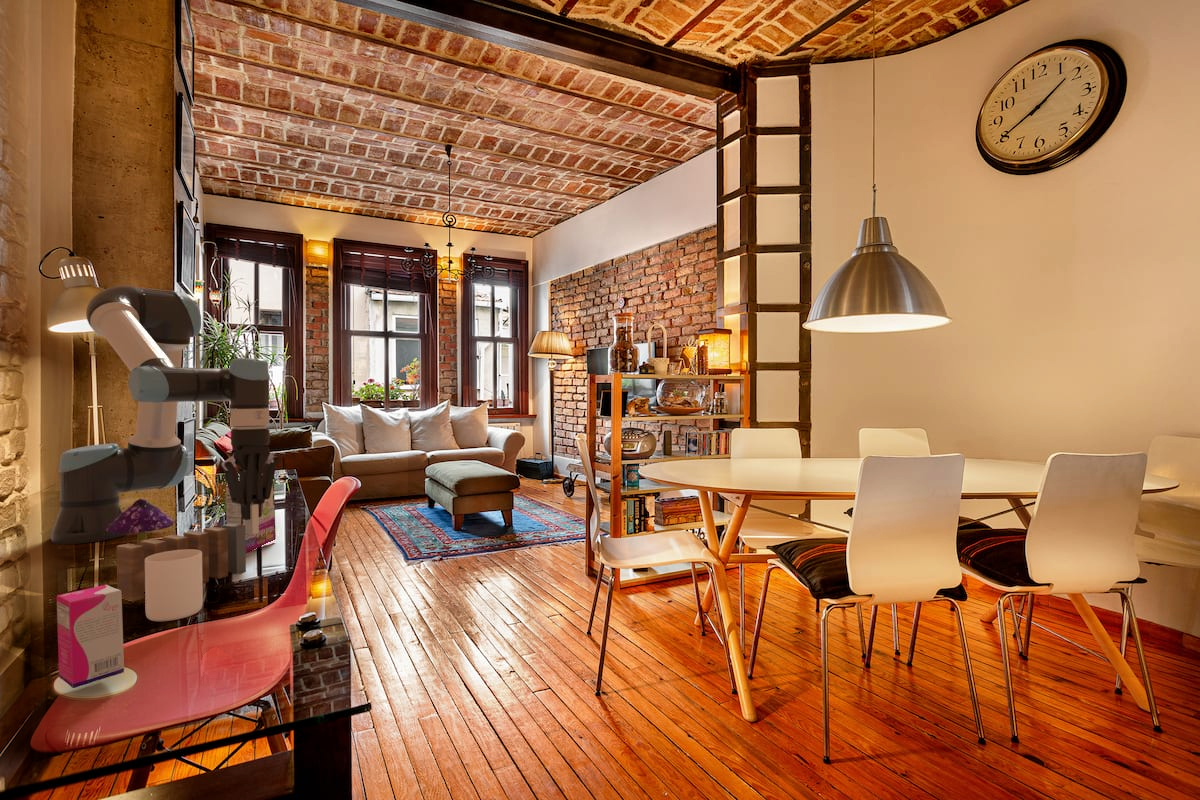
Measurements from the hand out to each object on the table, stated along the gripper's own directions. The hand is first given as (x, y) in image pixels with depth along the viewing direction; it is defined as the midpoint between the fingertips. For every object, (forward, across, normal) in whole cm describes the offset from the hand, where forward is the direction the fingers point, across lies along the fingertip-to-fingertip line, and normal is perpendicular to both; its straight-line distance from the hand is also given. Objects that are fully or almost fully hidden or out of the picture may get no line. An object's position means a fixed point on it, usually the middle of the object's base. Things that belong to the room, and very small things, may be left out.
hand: (251, 533), depth 138 cm
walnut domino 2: (+7, -20, 0) cm, 21 cm away
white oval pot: (+8, -24, -14) cm, 29 cm away
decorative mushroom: (+8, -10, +24) cm, 27 cm away
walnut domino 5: (+7, -8, 0) cm, 11 cm away
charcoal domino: (+7, -4, 0) cm, 8 cm away
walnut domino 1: (+7, -24, 0) cm, 25 cm away
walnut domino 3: (+7, -16, 0) cm, 18 cm away
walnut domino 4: (+7, -12, 0) cm, 14 cm away
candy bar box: (+8, +10, +15) cm, 19 cm away
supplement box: (+8, -44, -31) cm, 54 cm away
